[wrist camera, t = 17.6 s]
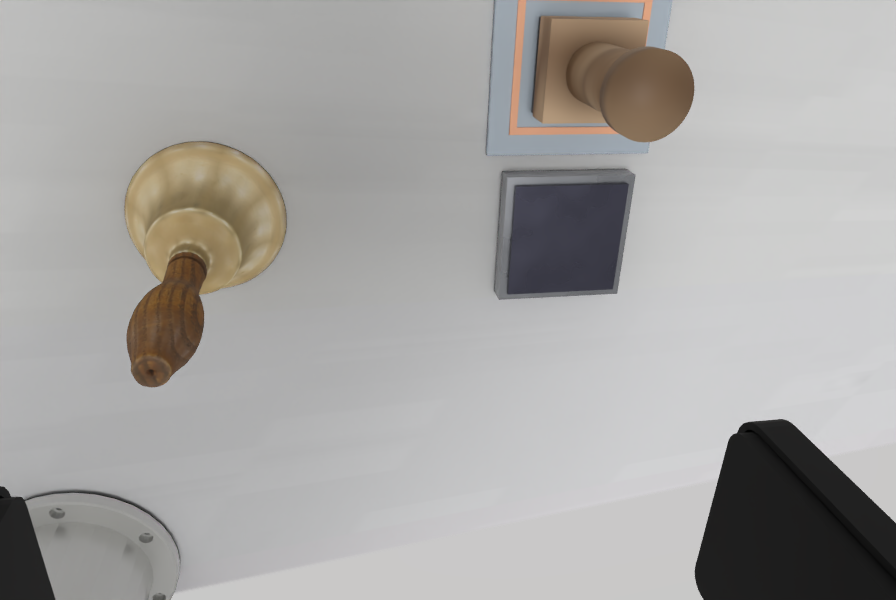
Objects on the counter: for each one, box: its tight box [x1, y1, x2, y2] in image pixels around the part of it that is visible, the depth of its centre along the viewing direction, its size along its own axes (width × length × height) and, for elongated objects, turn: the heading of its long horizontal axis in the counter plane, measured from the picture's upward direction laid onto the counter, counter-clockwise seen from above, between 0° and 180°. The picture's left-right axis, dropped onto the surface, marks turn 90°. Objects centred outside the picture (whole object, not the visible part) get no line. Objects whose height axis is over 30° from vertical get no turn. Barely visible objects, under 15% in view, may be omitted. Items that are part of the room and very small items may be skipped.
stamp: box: [531, 16, 694, 142], centre depth 33 cm, size 5×5×9 cm
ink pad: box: [494, 169, 635, 300], centre depth 41 cm, size 8×8×2 cm
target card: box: [486, 0, 672, 156], centre depth 37 cm, size 10×10×1 cm
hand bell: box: [125, 142, 286, 387], centre depth 30 cm, size 8×8×16 cm
